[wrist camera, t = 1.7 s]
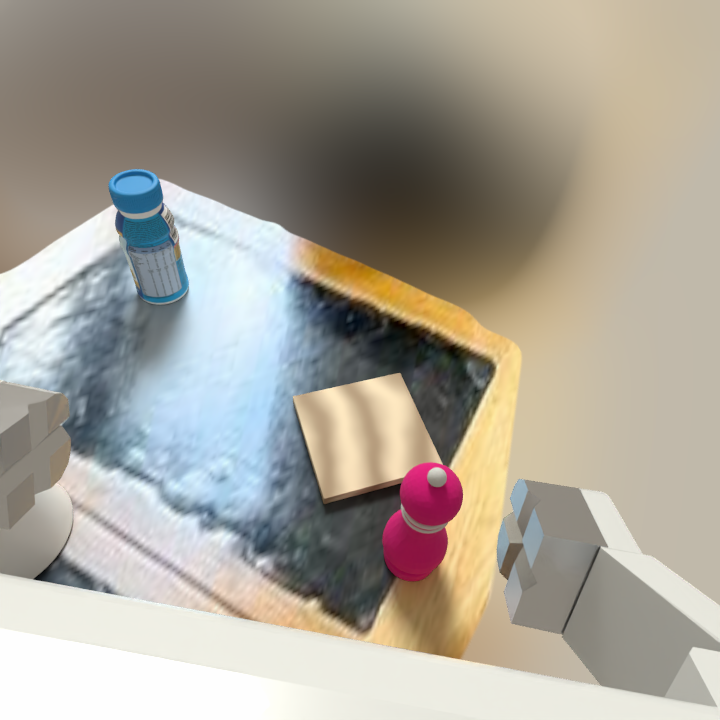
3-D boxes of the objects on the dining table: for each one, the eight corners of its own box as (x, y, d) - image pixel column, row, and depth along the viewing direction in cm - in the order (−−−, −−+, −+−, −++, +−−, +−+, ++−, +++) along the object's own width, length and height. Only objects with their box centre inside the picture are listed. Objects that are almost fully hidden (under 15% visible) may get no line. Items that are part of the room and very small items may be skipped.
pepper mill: (449, 578, 64) (491, 500, 48) (389, 593, 62) (412, 518, 47) (428, 519, 68) (461, 432, 53) (372, 532, 67) (389, 446, 51)
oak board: (323, 504, 69) (323, 498, 68) (293, 402, 78) (292, 396, 77) (441, 472, 73) (443, 466, 71) (398, 379, 82) (399, 372, 81)
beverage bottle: (161, 314, 88) (129, 207, 72) (126, 291, 90) (87, 183, 75) (201, 286, 92) (178, 179, 77) (165, 265, 95) (137, 158, 80)
